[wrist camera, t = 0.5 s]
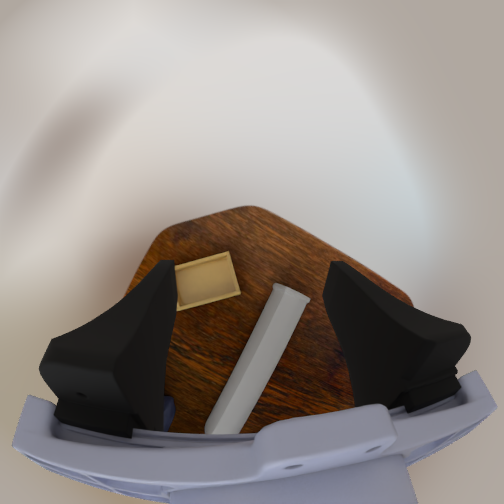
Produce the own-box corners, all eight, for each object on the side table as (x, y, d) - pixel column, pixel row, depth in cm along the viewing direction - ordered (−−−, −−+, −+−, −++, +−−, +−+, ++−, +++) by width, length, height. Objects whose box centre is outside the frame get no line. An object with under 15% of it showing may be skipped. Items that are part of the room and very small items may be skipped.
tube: (235, 453, 32) (317, 301, 35) (201, 446, 30) (284, 284, 34) (226, 433, 37) (297, 295, 40) (195, 425, 35) (268, 280, 39)
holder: (240, 294, 39) (240, 293, 37) (180, 310, 38) (177, 311, 36) (229, 253, 40) (228, 250, 38) (170, 270, 39) (166, 268, 37)
